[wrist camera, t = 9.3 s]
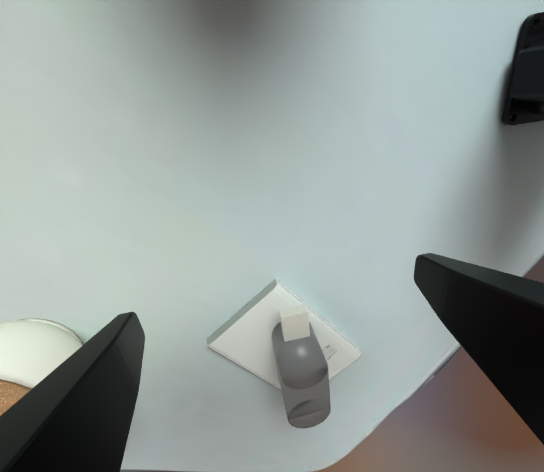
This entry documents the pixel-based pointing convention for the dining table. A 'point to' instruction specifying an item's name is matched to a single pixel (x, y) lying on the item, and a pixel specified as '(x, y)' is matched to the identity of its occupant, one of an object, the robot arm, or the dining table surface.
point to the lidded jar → (31, 355)
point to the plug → (301, 368)
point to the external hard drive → (258, 335)
